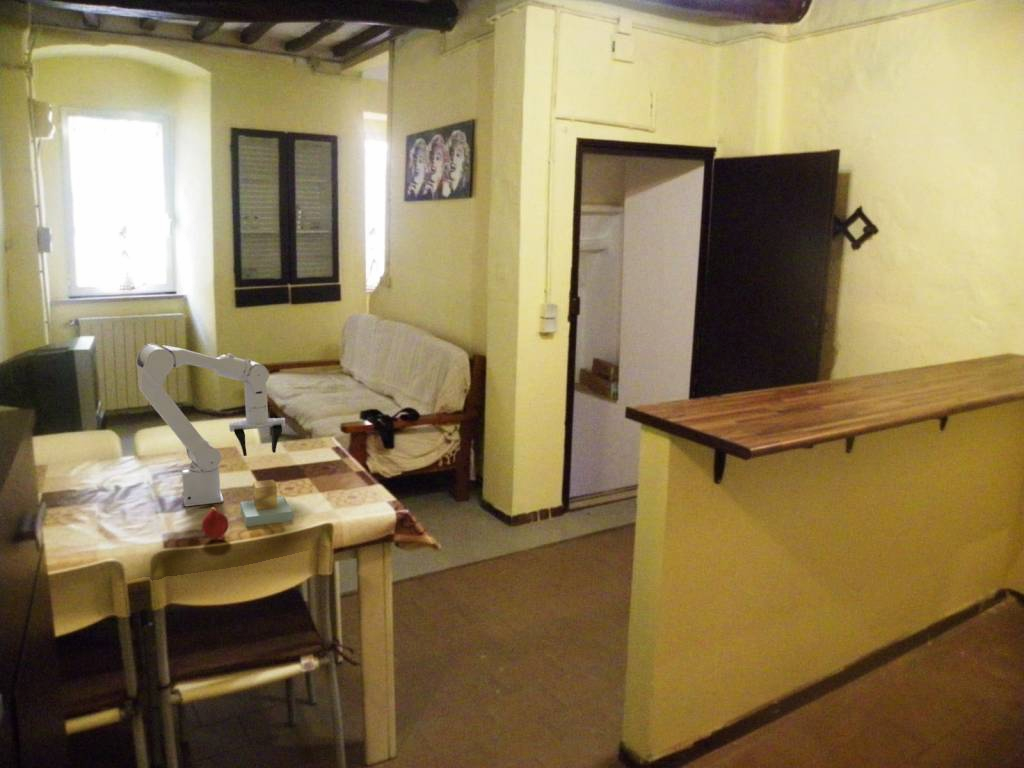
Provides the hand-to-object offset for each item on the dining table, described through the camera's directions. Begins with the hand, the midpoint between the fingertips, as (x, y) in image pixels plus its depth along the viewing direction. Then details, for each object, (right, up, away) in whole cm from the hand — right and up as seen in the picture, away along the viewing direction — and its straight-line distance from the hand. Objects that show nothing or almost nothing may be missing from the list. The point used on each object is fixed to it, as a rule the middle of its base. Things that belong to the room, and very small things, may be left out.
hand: (259, 453), depth 213 cm
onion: (0, -18, -31) cm, 36 cm away
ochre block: (+7, -12, -16) cm, 21 cm away
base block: (+7, -15, -16) cm, 23 cm away
